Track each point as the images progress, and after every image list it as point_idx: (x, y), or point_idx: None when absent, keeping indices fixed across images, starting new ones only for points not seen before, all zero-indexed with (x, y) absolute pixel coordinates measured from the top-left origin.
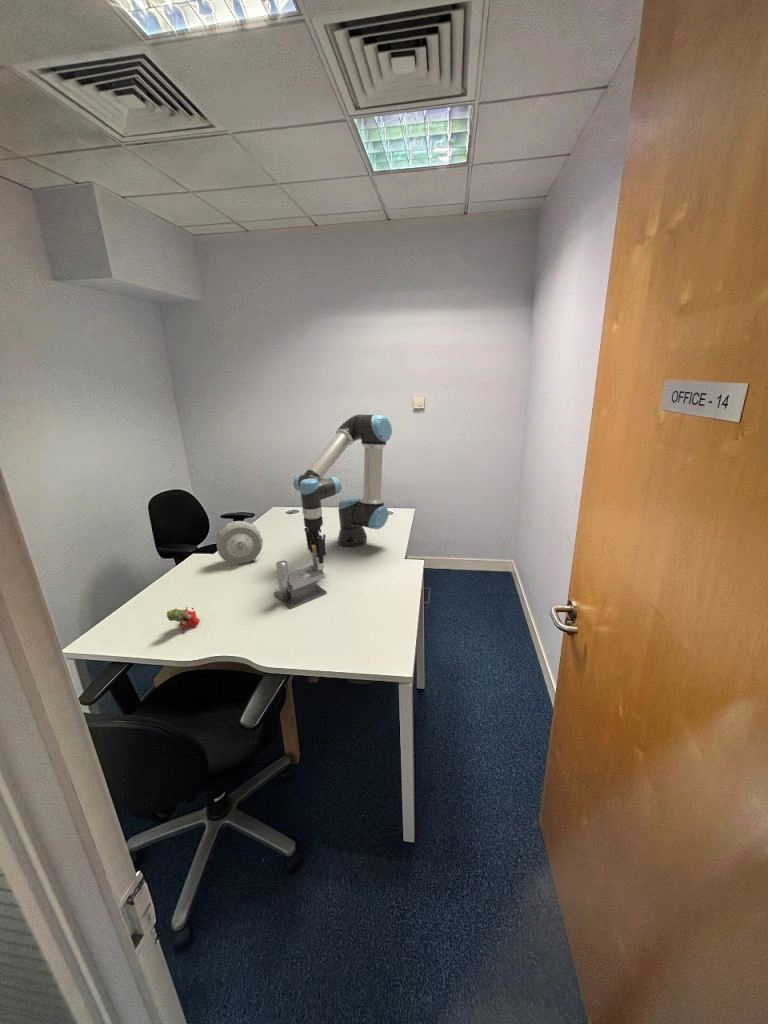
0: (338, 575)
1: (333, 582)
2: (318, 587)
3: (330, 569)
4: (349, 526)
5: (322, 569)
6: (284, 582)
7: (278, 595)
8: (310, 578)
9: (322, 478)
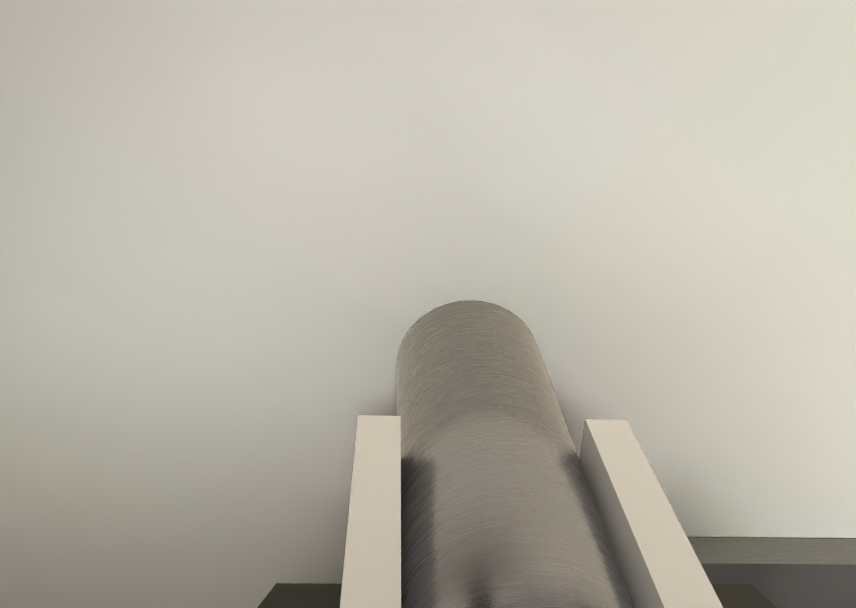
0: (702, 75)
1: (821, 300)
2: (803, 586)
3: (347, 36)
4: None
5: (554, 407)
6: None
7: None
8: None
9: None
